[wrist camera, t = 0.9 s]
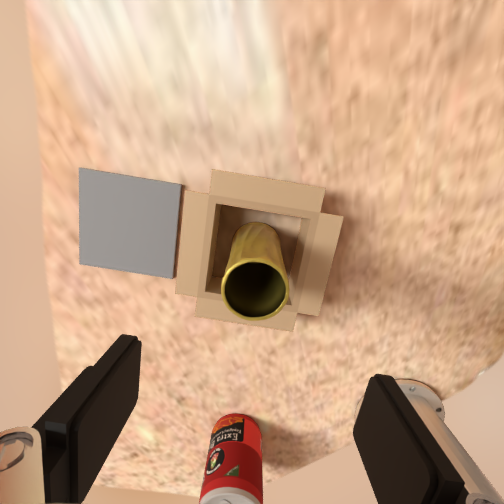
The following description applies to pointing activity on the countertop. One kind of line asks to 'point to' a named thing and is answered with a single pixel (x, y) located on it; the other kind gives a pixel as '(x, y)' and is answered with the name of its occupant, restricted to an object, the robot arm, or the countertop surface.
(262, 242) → the vase
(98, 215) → the mat
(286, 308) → the carton
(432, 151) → the countertop surface
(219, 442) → the canned food
